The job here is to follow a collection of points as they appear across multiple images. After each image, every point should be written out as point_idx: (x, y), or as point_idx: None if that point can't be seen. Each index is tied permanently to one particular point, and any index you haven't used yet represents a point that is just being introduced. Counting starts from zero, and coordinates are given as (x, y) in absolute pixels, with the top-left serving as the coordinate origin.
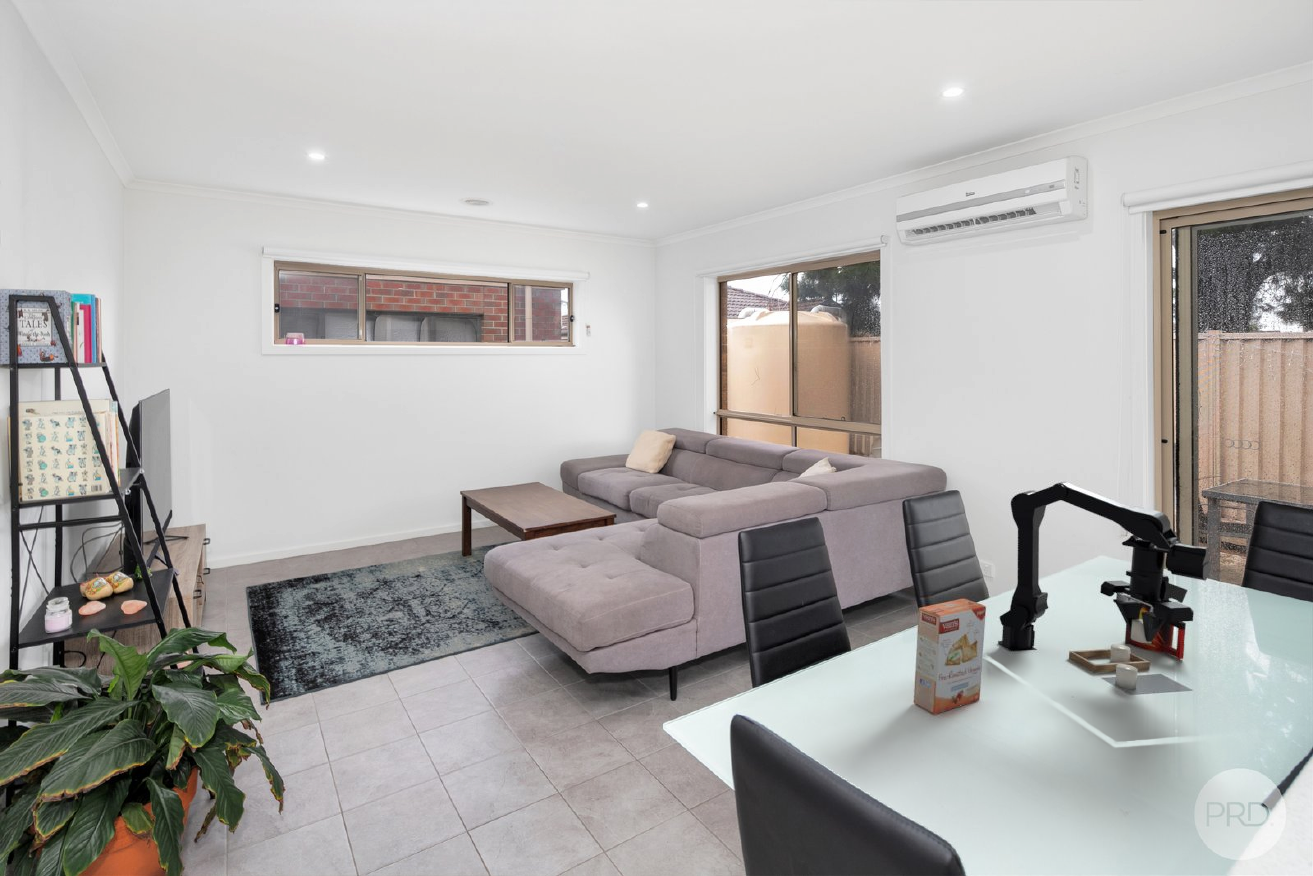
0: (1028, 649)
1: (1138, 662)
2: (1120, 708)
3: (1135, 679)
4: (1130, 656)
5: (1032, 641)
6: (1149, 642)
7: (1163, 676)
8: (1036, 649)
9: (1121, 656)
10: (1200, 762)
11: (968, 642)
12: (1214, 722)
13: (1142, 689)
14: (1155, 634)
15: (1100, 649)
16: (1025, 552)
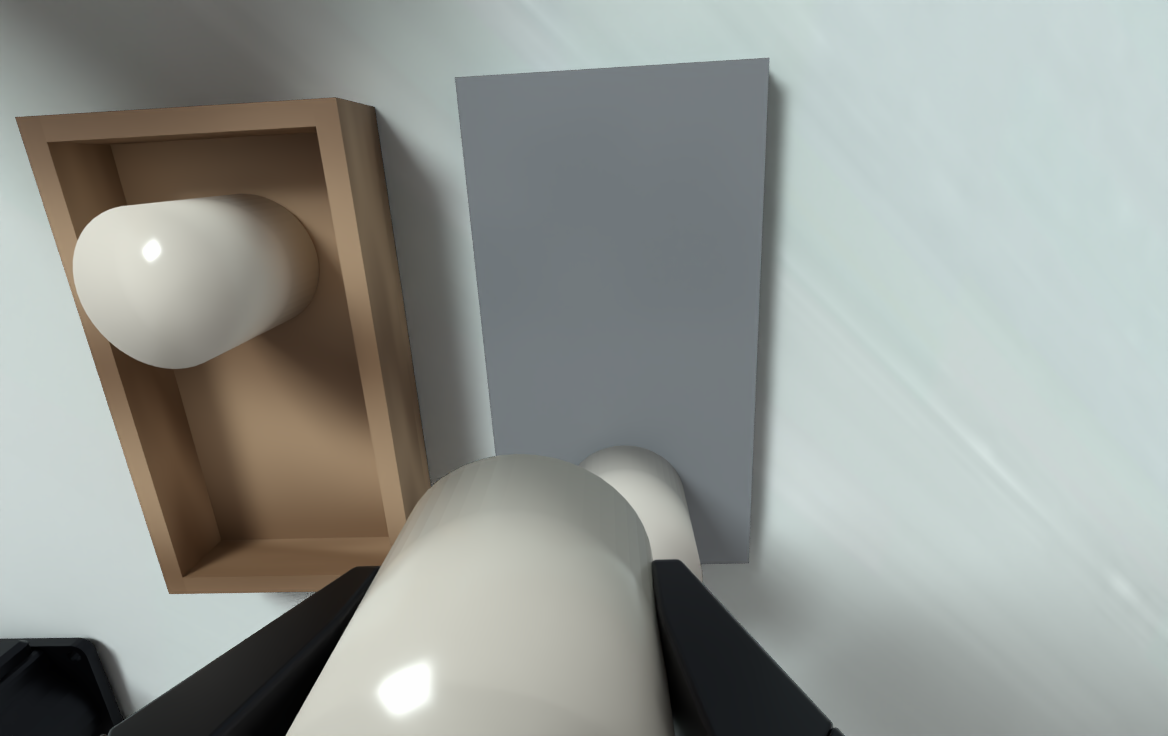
0: (85, 691)
1: (351, 221)
2: (836, 673)
3: (690, 520)
4: (167, 135)
5: (5, 688)
6: (651, 557)
7: (506, 98)
8: (75, 650)
9: (266, 317)
10: None
11: None
12: (1142, 289)
13: (695, 439)
14: (752, 648)
15: (91, 345)
16: None
